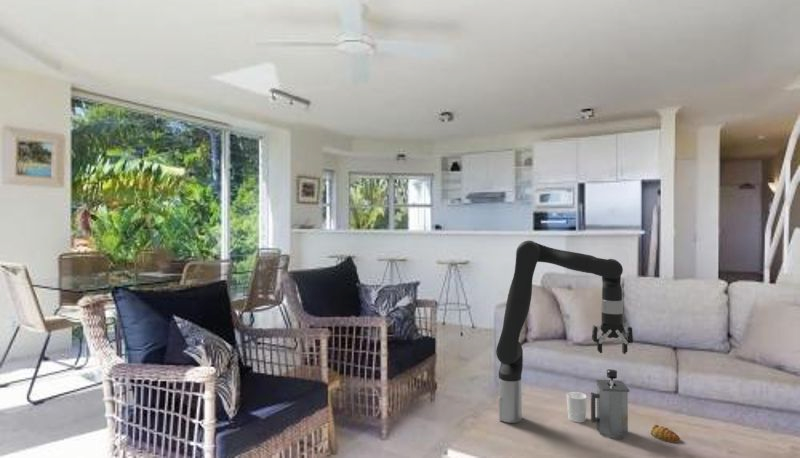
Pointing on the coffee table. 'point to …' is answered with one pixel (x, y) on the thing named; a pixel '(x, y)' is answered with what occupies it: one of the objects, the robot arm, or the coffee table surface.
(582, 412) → the white cup
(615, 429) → the square french press
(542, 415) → the coffee table surface
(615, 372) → the plunger
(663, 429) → the pastry
